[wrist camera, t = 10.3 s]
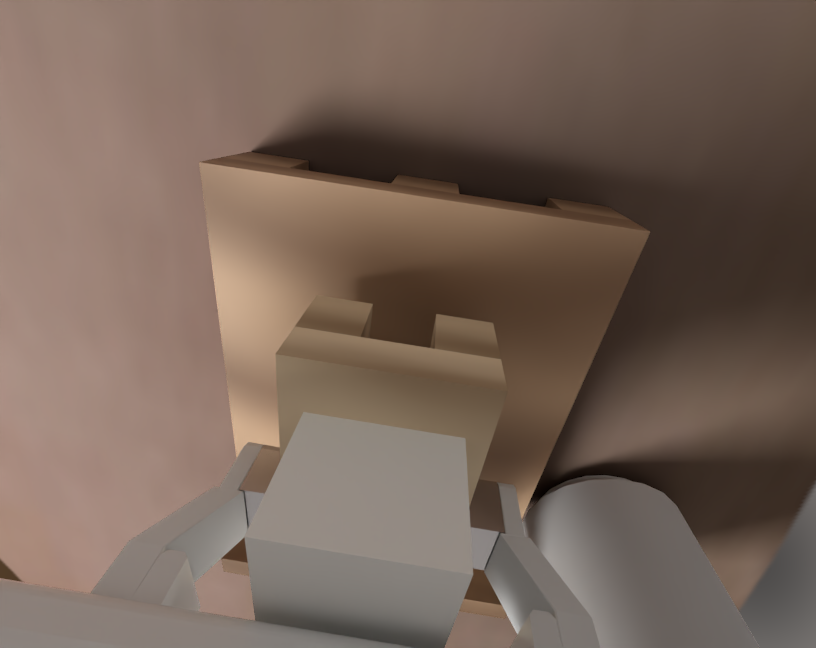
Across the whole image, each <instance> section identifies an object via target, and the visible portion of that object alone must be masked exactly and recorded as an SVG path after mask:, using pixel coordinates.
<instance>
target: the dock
mask: <svg viewBox="0 0 816 648" xmlns="http://www.w3.org/2000/svg"><path fill="white" fill-rule="evenodd" d="M199 166H200V174H201V182H202V190H203V198H204V206H205V214H206V221H207V229H208V237H209V245H210V253H211V261H212V269H213V277H214V284H215V292H216V300H217V308H218V316H219V324H220V332H221V339H222V347H223V355H224V363H225V371H226V379H227V387H228V395H229V402H230V410H231V418H232V426H233V434H234V442H235V450H236V458H237V457H238V455H239V454H240V452H241V450H242V449H243V447H244V446H245V445H246V444H247V443H248V442H252V443H258V444H264V445H269V446H275V447H280V442H279V421H278V400H277V379H276V358H275V354H276V352H277V351H278V350H279V348H280V347H281V345H282V344H283V342H284V341H285V340H286V338H287V337H288V335H289V334H290V332H291V331H292V330H293V328H294V327H295V325H296V324H297V322H298V321H299V320H300V318H301V317H302V315H303V314H304V312H305V311H306V310H307V308H308V307H309V305H310V304H311V302H312V301H313V300H314V298H315V297H316V295H320V296H326V297H333V298H339V299H345V300H352V301H358V302H364V303H371V304H373V308H372V319H371V329H370V339H377V340H383V341H389V342H395V343H402V344H408V345H414V346H421V347H427V348H430V345H431V340H432V334H433V329H434V324H435V319H436V314H440V315H446V316H453V317H459V318H465V319H472V320H478V321H484V322H491V323H493V325H494V329H495V334H496V339H497V343H498V348H499V352H500V357H501V362H502V366H503V371H504V375H505V380H506V384H507V389H508V393H507V396H506V399H505V402H504V405H503V408H502V411H501V414H500V417H499V420H498V423H497V426H496V429H495V432H494V435H493V438H492V441H491V444H490V447H489V450H488V453H487V456H486V459H485V462H484V465H483V468H482V471H481V474H480V477H479V479H480V480H487V481H494V482H496V483H497V482H498V483H504V484H510V485H514V486H515V488H516V493H517V498H518V503H519V508H520V514H521V519H522V517H523V515H524V513H525V511H526V508H527V506H528V504H529V502H530V499H531V497H532V495H533V493H534V490H535V488H536V486H537V484H538V482H539V479H540V477H541V475H542V473H543V470H544V468H545V466H546V464H547V461H548V459H549V457H550V455H551V453H552V450H553V448H554V446H555V444H556V441H557V439H558V437H559V435H560V432H561V430H562V428H563V426H564V424H565V421H566V419H567V417H568V415H569V412H570V410H571V408H572V406H573V403H574V401H575V399H576V397H577V395H578V392H579V390H580V388H581V386H582V383H583V381H584V379H585V377H586V374H587V372H588V370H589V368H590V366H591V363H592V361H593V359H594V357H595V354H596V352H597V350H598V348H599V345H600V343H601V341H602V339H603V337H604V334H605V332H606V330H607V328H608V325H609V323H610V321H611V319H612V316H613V314H614V312H615V310H616V308H617V305H618V303H619V301H620V299H621V296H622V294H623V292H624V290H625V287H626V285H627V283H628V281H629V278H630V276H631V274H632V272H633V270H634V267H635V265H636V263H637V261H638V258H639V256H640V254H641V252H642V249H643V247H644V245H645V243H646V241H647V238H648V236H649V234H650V231H648V230H647V229H645V228H643V227H642V226H640V225H638V224H637V223H635V222H633V221H631V220H630V219H628V218H626V217H625V216H623V215H621V214H620V213H618V212H616V211H615V210H613V209H611V208H609V207H606V206H600V205H593V204H587V203H580V202H574V201H567V200H561V199H554V198H548V199H547V202H546V206H545V207H541V206H535V205H528V204H522V203H515V202H509V201H502V200H496V199H489V198H483V197H476V196H470V195H463V194H459V188H458V184H457V183H450V182H443V181H437V180H430V179H424V178H417V177H411V176H404V175H397V176H396V178H395V179H394V180H393V182H392V183H385V182H379V181H372V180H366V179H359V178H353V177H346V176H340V175H333V174H327V173H320V172H314V171H309V161H307V160H300V159H294V158H287V157H281V156H274V155H268V154H261V153H255V152H246V153H241V154H236V155H231V156H226V157H221V158H217V159H212V160H207V161H202V162H199ZM221 560H222V565H223V570H224V572H229V573H235V574H241V575H247V576H250V575H249V568H248V560H247V553H246V545H245V538H243V539H242V540H241V541H240V542H239V543H238V544H236V545H235V546H234V547H233V548H232V549H231V550H230V551H229V552H228V553H226V554H225V555H224V556H223V557H222V558H221ZM459 611H461V612H467V613H473V614H479V615H485V616H491V617H497V618H503V619H505V618H506V616H507V614H506V612H505V610H504V608H503V606H502V604H501V603H500V601H499V599H498V597H497V595H496V593H495V591H494V589H493V588H492V586H491V584H490V582H489V580H488V578H487V576H486V575H485V573H484V570H479V569H474V568H473V577H472V579H471V582H470V584H469V587H468V589H467V592H466V594H465V597H464V599H463V602H462V604H461V607H460V609H459Z"/></svg>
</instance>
